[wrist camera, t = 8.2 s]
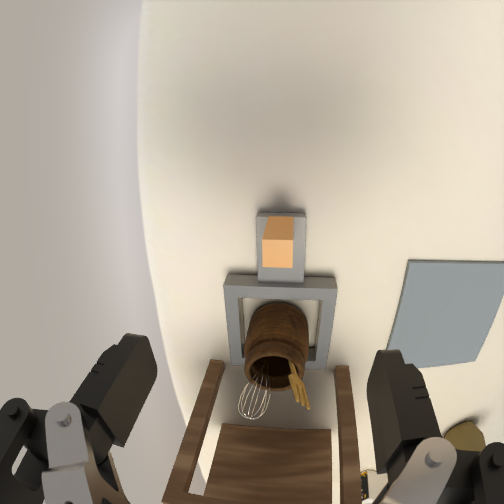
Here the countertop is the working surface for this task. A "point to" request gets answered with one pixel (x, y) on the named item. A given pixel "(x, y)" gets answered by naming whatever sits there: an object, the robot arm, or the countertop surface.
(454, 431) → the squeeze bottle
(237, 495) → the walnut shelf
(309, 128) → the countertop surface
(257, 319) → the utensil holder
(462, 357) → the slate mat
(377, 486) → the medicine bottle
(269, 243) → the sliding frame
